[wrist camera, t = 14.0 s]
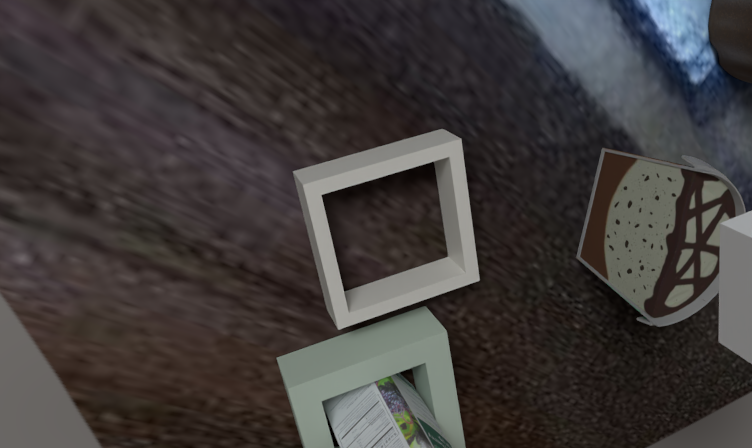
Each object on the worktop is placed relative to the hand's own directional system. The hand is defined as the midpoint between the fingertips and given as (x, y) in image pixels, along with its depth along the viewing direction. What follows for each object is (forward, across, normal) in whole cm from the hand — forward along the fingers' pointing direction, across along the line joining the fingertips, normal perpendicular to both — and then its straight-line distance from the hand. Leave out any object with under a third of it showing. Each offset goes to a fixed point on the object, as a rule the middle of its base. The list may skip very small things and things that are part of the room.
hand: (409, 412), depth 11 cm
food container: (+33, +28, -18) cm, 47 cm away
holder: (+33, +8, -12) cm, 36 cm away
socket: (+33, +3, -26) cm, 42 cm away
